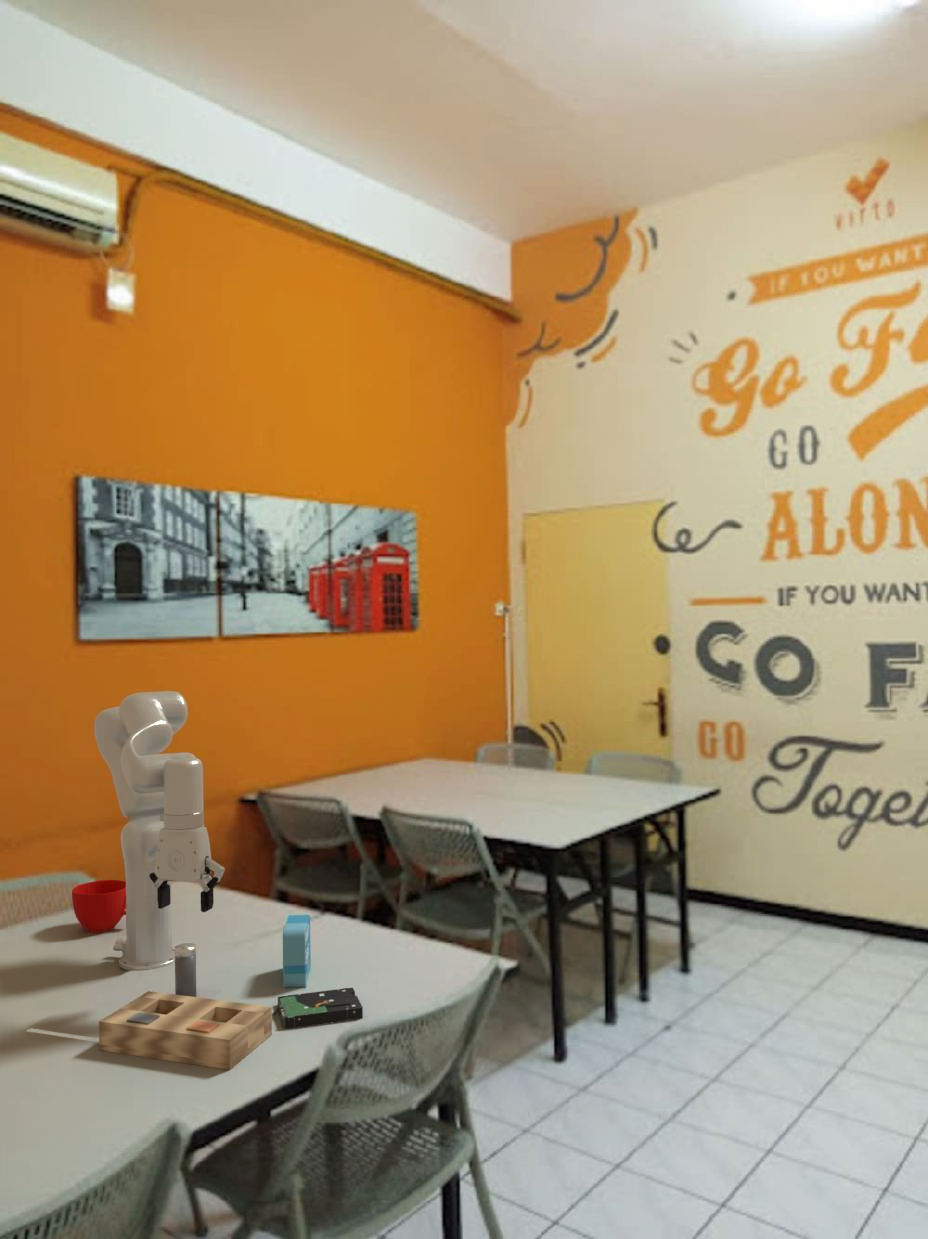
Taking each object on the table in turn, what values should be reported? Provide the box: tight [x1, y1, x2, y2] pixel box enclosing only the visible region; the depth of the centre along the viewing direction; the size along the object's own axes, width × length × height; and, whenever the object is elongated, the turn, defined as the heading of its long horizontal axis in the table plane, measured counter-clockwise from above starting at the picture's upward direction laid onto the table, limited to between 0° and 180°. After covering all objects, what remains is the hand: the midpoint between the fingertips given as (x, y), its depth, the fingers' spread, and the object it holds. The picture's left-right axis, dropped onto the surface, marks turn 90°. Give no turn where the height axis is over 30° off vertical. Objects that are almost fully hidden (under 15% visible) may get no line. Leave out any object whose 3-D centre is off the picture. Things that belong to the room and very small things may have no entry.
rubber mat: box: [166, 986, 223, 999], centre depth 188 cm, size 10×10×1 cm
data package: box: [282, 914, 312, 988], centre depth 199 cm, size 12×4×12 cm, turn 4°
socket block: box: [98, 990, 273, 1071], centre depth 170 cm, size 26×14×5 cm, turn 72°
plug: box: [174, 942, 197, 997], centre depth 188 cm, size 4×4×10 cm
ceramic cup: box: [71, 879, 126, 933], centre depth 233 cm, size 13×17×10 cm
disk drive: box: [277, 987, 364, 1030], centre depth 182 cm, size 10×3×15 cm
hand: (185, 908), depth 188 cm, fingers open, 9 cm apart
